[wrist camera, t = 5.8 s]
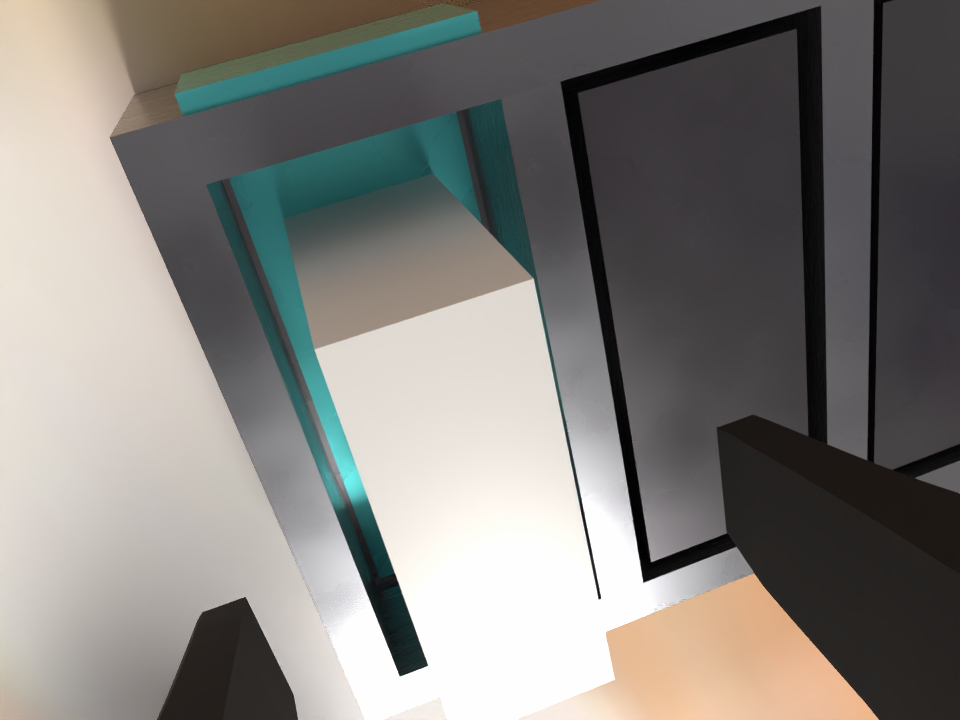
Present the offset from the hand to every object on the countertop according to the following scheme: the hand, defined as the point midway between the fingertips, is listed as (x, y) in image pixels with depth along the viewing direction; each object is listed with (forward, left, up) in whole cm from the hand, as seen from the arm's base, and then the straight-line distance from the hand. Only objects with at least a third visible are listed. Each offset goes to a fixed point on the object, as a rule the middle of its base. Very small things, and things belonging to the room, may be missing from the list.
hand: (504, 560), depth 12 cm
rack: (-6, 0, -8) cm, 10 cm away
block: (0, 0, -7) cm, 7 cm away
